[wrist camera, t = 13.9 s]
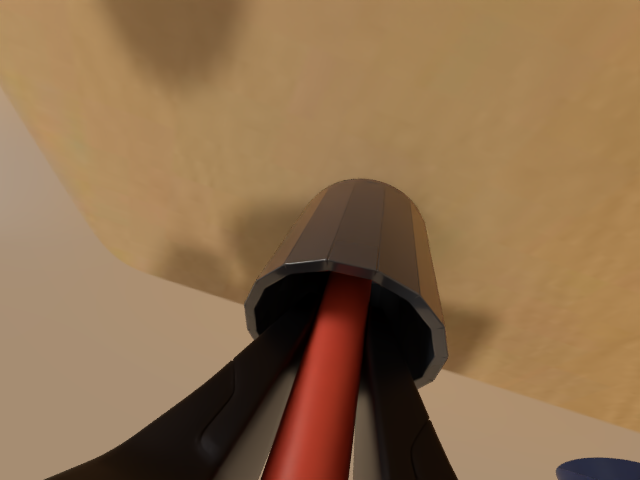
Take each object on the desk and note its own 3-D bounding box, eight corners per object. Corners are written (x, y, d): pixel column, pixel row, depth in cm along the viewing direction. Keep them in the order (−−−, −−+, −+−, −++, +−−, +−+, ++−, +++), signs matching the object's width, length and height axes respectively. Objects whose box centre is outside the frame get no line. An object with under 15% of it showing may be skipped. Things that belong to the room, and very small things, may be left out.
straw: (370, 279, 11) (315, 699, 4) (333, 271, 11) (213, 648, 4) (377, 249, 10) (326, 726, 3) (337, 241, 10) (191, 655, 3)
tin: (405, 294, 14) (411, 417, 9) (300, 270, 15) (251, 368, 10) (444, 191, 10) (488, 294, 5) (305, 168, 11) (235, 239, 6)
